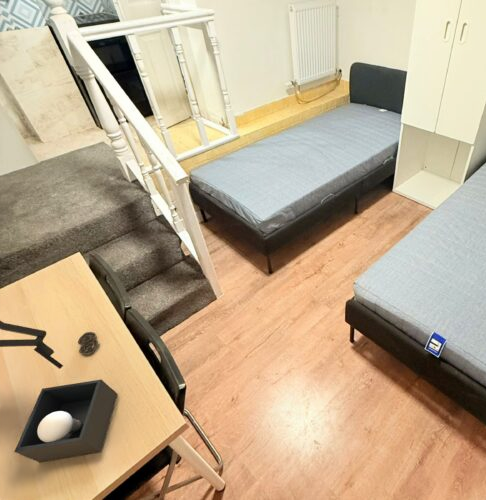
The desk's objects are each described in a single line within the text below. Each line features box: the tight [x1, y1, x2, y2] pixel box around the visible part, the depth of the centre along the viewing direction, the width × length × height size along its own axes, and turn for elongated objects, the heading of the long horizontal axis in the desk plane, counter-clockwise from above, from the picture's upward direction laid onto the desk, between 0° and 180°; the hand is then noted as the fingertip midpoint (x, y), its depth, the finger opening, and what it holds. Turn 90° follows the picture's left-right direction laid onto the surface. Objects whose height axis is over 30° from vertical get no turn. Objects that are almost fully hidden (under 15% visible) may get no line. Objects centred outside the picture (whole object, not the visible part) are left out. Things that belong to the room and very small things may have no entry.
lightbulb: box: [37, 411, 81, 443], centre depth 75 cm, size 6×6×11 cm
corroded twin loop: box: [77, 331, 99, 355], centre depth 96 cm, size 5×8×1 cm, turn 35°
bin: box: [13, 378, 118, 463], centre depth 78 cm, size 13×13×9 cm
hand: (30, 395), depth 69 cm, fingers open, 13 cm apart
